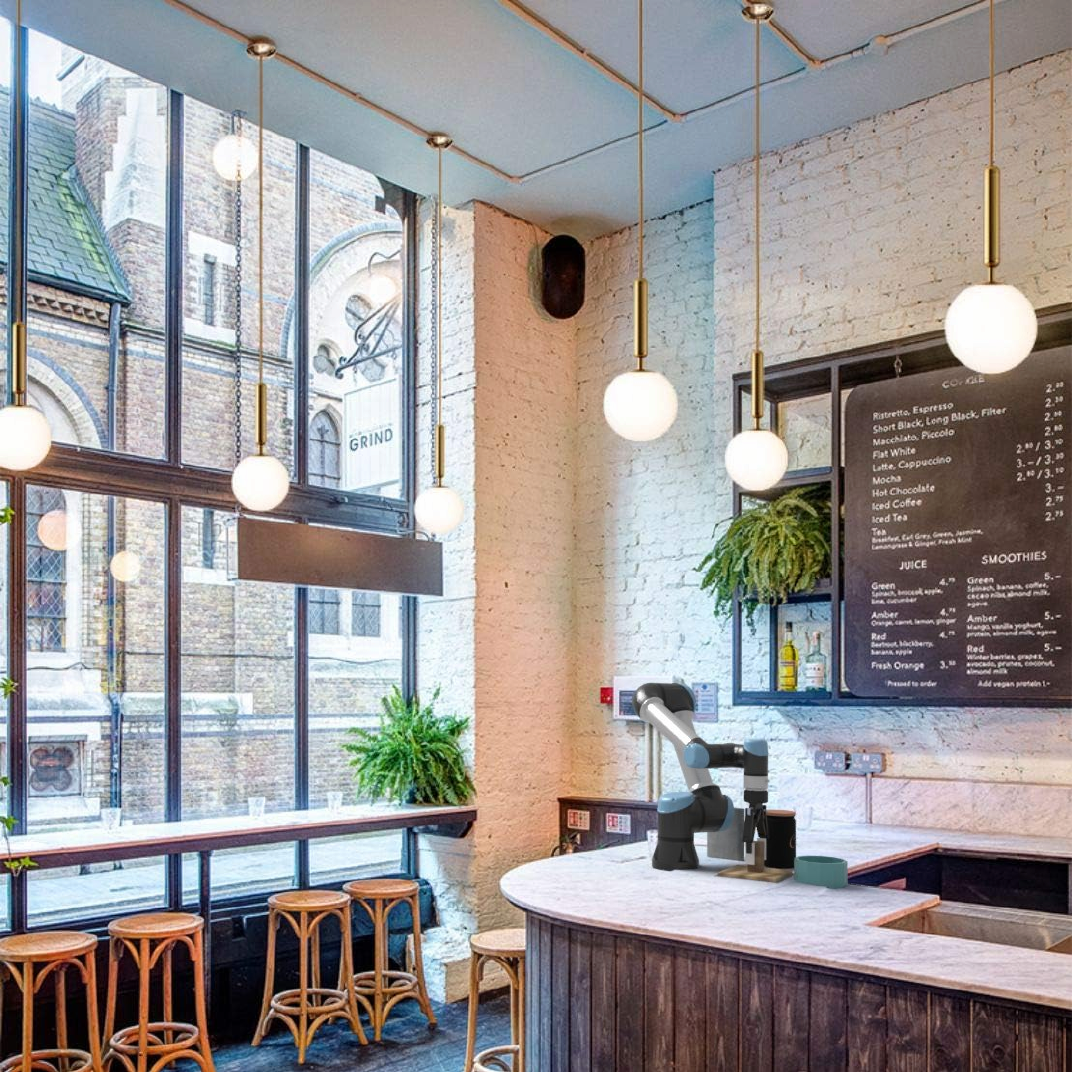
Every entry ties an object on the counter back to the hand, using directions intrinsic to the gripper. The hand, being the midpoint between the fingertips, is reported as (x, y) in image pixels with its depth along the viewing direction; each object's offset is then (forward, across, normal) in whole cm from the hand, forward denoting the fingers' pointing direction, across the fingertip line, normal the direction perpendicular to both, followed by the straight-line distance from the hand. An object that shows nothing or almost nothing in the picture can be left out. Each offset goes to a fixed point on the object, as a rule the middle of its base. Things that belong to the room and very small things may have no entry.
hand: (755, 861), depth 357 cm
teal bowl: (+5, +1, -20) cm, 21 cm away
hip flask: (+5, +27, +20) cm, 34 cm away
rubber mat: (+4, 0, 0) cm, 4 cm away
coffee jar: (+5, +21, -1) cm, 22 cm away
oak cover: (+4, 0, 0) cm, 4 cm away
